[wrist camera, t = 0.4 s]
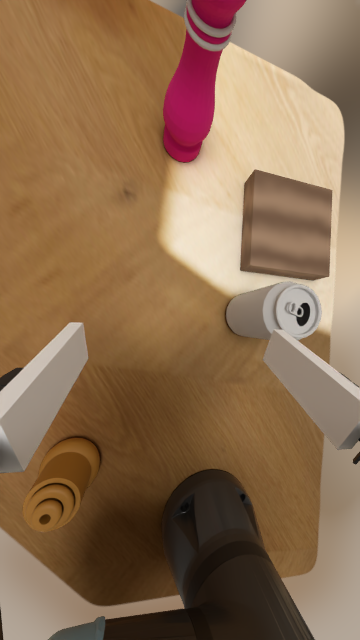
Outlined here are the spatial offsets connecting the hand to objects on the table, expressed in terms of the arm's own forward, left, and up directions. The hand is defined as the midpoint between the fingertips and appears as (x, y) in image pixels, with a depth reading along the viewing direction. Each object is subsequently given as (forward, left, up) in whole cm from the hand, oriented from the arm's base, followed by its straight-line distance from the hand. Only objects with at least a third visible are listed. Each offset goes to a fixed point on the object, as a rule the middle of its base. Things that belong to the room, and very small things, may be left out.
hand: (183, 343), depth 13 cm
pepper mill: (+32, -2, -17) cm, 36 cm away
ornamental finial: (-19, +11, -17) cm, 28 cm away
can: (+4, -15, -17) cm, 23 cm away
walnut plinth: (+20, -22, -17) cm, 34 cm away
